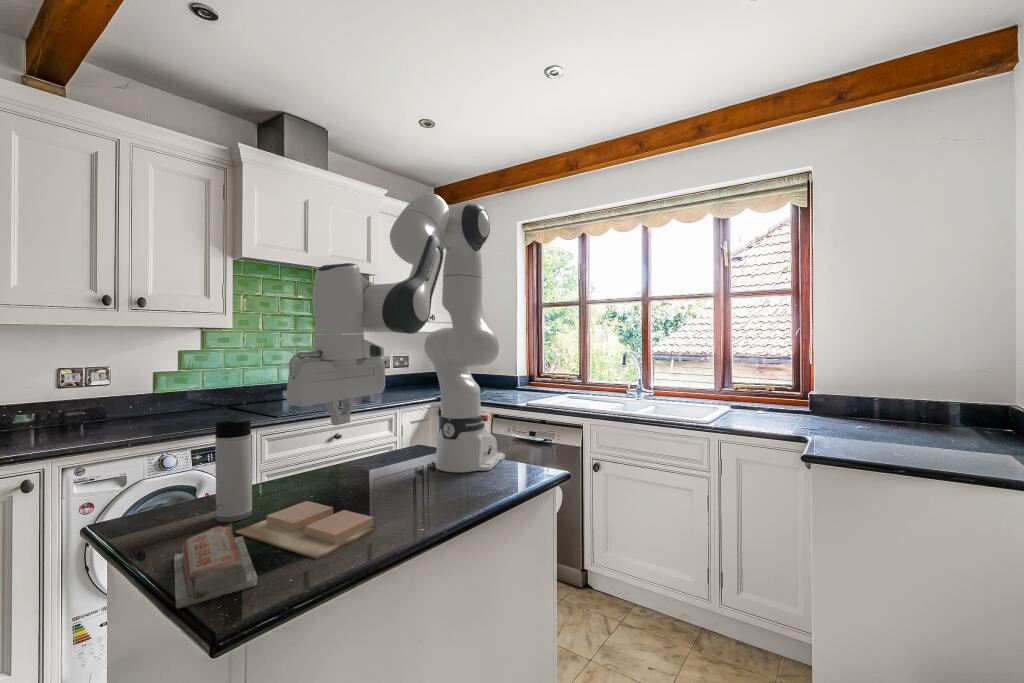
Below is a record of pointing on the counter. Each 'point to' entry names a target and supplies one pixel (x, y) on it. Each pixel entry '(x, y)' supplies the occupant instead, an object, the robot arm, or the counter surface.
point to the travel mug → (233, 470)
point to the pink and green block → (339, 526)
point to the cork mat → (295, 539)
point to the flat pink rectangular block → (299, 515)
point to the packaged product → (212, 567)
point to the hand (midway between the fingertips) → (340, 423)
